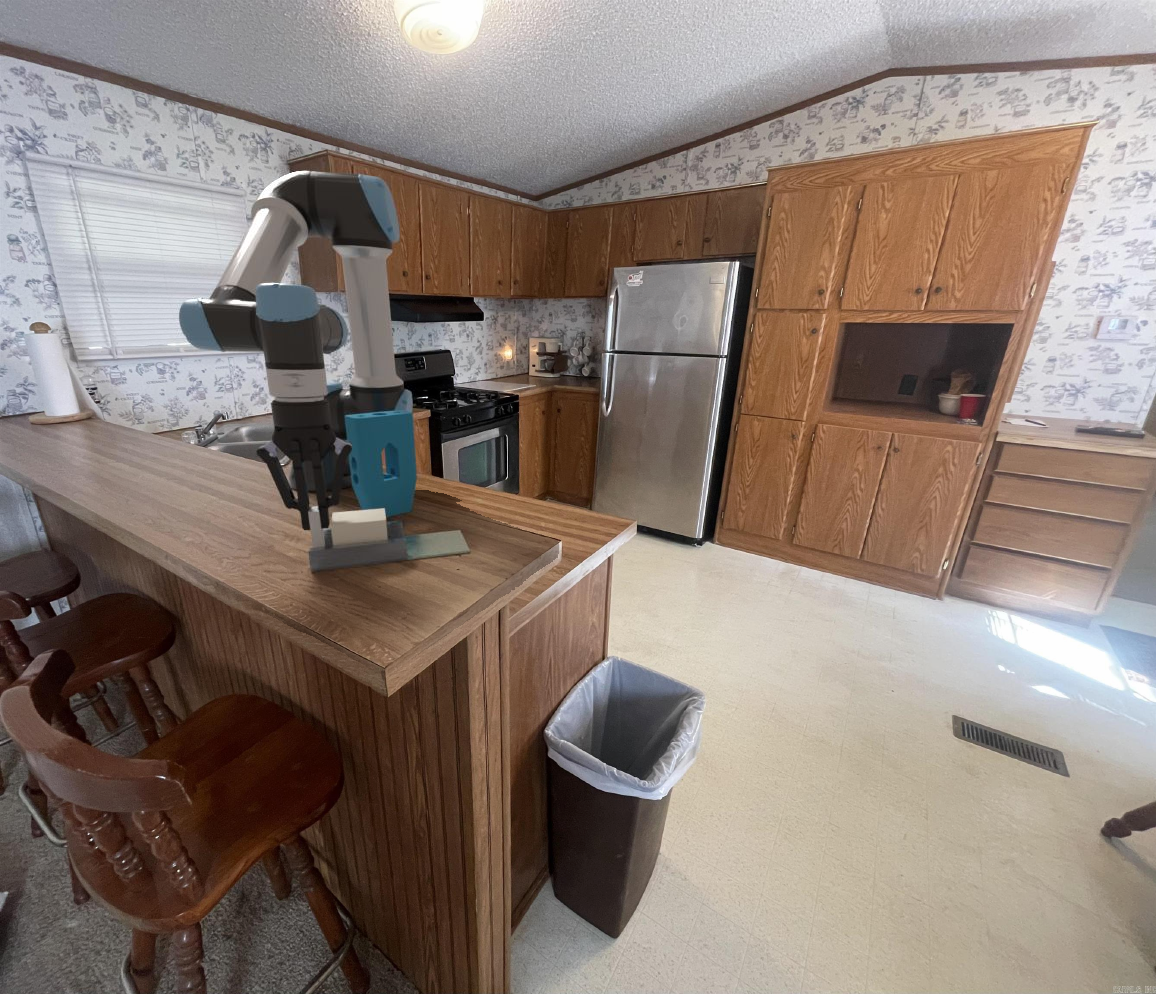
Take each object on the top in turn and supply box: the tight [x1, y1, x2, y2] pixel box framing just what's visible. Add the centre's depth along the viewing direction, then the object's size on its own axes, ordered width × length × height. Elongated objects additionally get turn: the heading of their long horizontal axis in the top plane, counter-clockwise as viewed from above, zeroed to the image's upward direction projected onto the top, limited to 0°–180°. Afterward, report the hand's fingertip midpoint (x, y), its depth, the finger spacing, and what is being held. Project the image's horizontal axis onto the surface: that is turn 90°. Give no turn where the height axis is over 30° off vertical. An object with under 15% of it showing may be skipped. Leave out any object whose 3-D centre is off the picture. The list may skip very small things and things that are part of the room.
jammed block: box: [330, 508, 388, 546], centre depth 83 cm, size 6×8×6 cm
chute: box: [307, 520, 471, 573], centre depth 85 cm, size 10×24×3 cm, turn 112°
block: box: [345, 410, 418, 519], centre depth 100 cm, size 12×5×20 cm, turn 141°
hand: (319, 547), depth 81 cm, fingers closed
